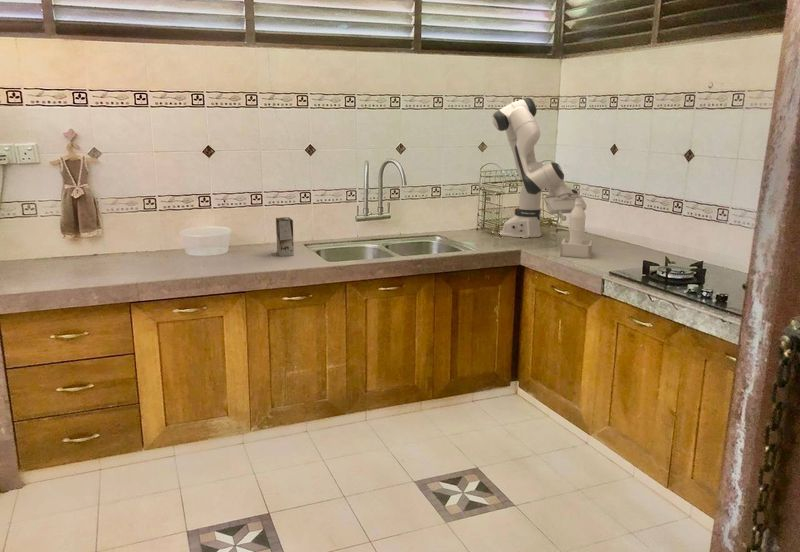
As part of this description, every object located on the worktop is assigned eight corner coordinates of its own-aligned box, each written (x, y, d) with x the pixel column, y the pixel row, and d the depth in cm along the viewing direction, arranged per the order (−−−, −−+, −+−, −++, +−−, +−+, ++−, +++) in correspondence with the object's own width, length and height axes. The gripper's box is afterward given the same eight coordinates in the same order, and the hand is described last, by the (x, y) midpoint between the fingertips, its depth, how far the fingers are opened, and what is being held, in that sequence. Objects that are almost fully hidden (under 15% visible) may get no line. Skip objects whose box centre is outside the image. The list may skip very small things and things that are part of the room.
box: (560, 256, 292) (561, 243, 291) (562, 250, 304) (563, 238, 303) (589, 258, 288) (590, 245, 287) (591, 253, 300) (592, 240, 299)
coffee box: (294, 255, 288) (293, 220, 284) (280, 256, 286) (278, 220, 282) (290, 251, 296) (289, 216, 292) (276, 252, 294) (275, 217, 290)
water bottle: (583, 252, 298) (587, 198, 292) (582, 255, 292) (587, 200, 286) (567, 250, 300) (571, 197, 294) (565, 253, 294) (570, 199, 288)
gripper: (546, 192, 296) (558, 216, 290) (581, 190, 305) (593, 214, 299) (539, 200, 301) (551, 224, 295) (574, 198, 310) (586, 222, 304)
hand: (572, 219), depth 297 cm, fingers open, 8 cm apart
